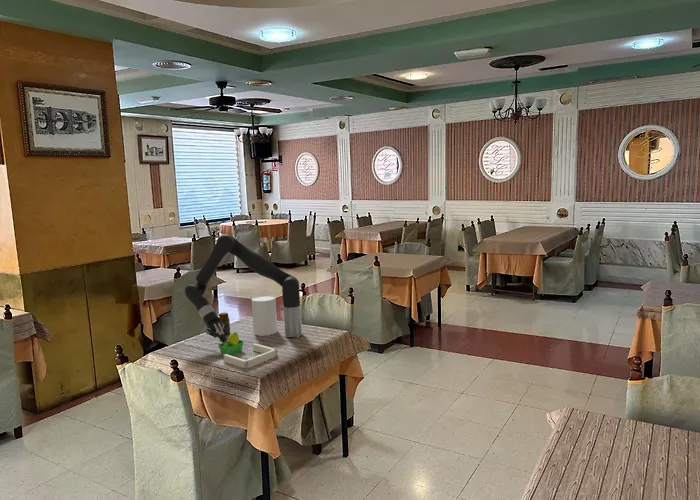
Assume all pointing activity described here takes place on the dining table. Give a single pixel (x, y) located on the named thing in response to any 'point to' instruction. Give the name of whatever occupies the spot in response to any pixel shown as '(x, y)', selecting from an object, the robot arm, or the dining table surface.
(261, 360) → the corral
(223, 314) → the condiment
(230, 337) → the fruit basket
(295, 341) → the dining table surface
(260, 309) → the canister
